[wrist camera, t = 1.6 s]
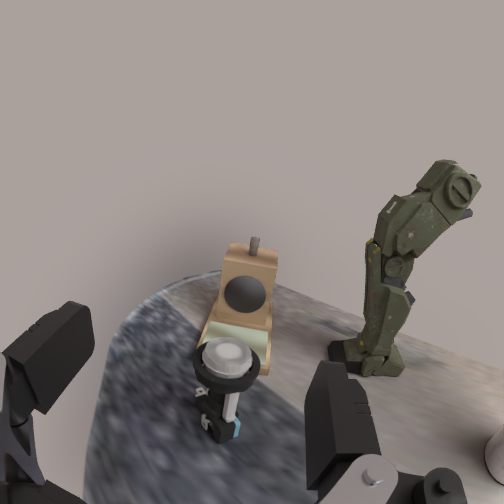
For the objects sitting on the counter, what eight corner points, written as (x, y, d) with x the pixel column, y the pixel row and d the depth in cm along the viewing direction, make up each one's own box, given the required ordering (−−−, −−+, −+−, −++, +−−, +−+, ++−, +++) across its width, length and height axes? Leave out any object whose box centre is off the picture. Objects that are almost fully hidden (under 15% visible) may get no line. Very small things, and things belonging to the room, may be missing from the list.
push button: (175, 403, 27) (175, 328, 23) (220, 390, 30) (231, 316, 26) (206, 452, 22) (214, 383, 18) (254, 433, 25) (276, 362, 21)
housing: (217, 297, 48) (227, 225, 44) (271, 307, 48) (287, 236, 44) (193, 361, 33) (200, 268, 29) (267, 375, 33) (291, 284, 29)
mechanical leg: (305, 365, 34) (434, 136, 24) (304, 332, 41) (408, 138, 30) (389, 392, 34) (512, 202, 24) (379, 361, 41) (482, 192, 31)
